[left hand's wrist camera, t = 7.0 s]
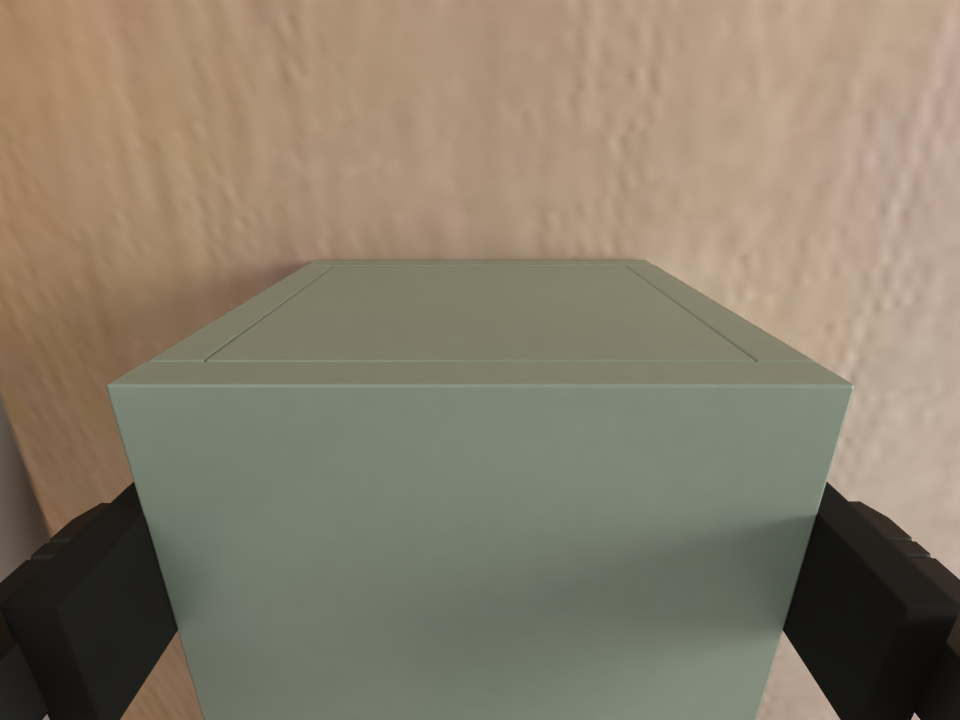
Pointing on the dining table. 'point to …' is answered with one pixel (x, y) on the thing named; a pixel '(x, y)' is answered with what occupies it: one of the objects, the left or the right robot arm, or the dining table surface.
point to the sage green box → (480, 493)
